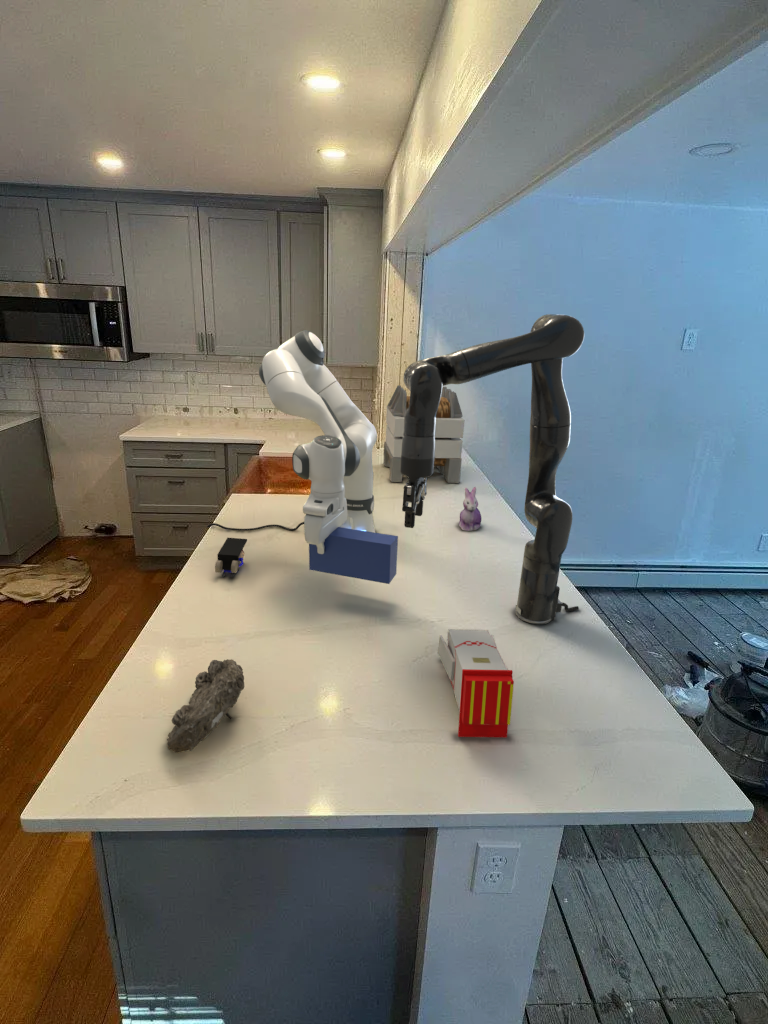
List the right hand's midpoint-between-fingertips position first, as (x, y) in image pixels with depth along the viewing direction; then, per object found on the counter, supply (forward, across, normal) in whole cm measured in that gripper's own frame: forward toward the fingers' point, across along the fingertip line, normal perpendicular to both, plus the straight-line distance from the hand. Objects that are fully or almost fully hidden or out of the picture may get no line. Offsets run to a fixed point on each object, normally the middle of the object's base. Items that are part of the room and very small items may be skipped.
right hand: (413, 521), depth 133 cm
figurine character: (+28, +13, +56) cm, 64 cm away
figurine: (+28, +75, -6) cm, 80 cm away
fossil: (+28, -45, +27) cm, 60 cm away
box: (+20, +9, +18) cm, 29 cm away
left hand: (+15, +10, +25) cm, 31 cm away
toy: (+28, -21, -19) cm, 40 cm away
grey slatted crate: (+28, +138, +28) cm, 144 cm away
